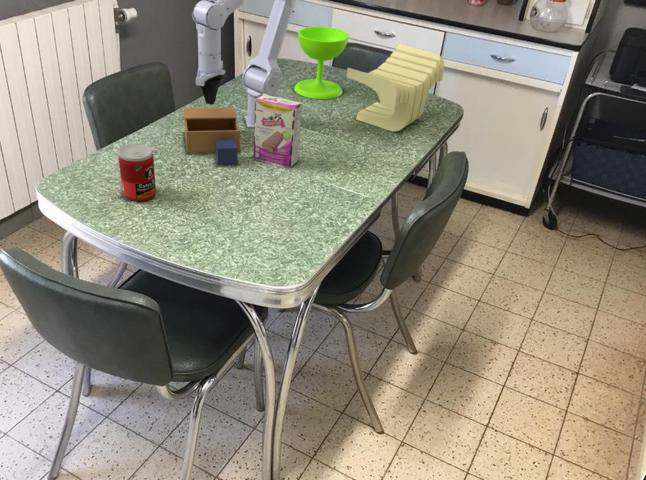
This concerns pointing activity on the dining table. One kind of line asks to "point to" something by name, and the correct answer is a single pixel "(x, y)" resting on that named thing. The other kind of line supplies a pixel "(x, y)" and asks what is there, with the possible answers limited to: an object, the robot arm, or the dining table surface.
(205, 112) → the flap
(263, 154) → the candy bar box
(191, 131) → the carton
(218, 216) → the dining table surface
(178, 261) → the dining table surface
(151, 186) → the canned food
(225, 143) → the cube
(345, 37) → the wineglass
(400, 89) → the slatted curved stool
